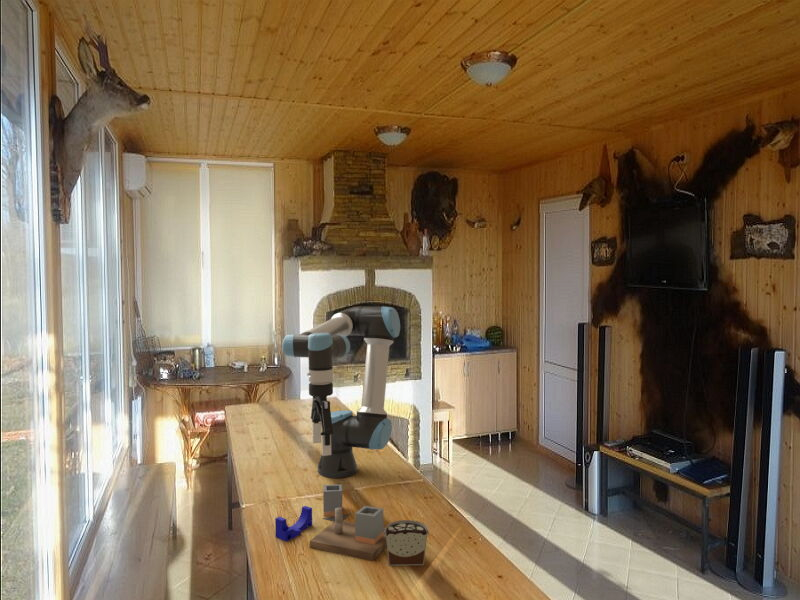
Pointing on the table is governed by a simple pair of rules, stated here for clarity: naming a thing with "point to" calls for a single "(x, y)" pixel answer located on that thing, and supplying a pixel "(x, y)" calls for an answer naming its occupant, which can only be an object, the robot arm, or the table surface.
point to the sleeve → (332, 498)
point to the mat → (334, 517)
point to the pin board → (346, 540)
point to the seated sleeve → (369, 525)
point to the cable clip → (295, 530)
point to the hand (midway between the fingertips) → (321, 448)
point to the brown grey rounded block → (406, 542)
